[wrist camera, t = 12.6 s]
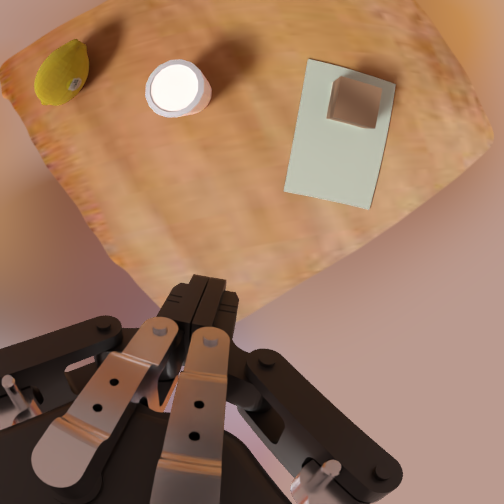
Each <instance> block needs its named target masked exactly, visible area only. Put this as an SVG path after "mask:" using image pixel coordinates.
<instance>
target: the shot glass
mask: <svg viewBox="0 0 504 504" xmlns="http://www.w3.org/2000/svg"><path fill="white" fill-rule="evenodd" d="M211 93H212V89H211V87H210V84H209V82H208V81H207V79H206V78H205V76H204V75H203V73H202V72H201V71H200V70H199V69H198V68H197V67H196V66H195V65H194V64H193V63H191V62H188V61H185V60H182V59H179V60H170V61H167V62H165V63H163V64H161V65H159V66H158V67H157V68H156V69H155V70H154V71H153V72H152V73H151V75H150V77H149V79H148V81H147V84H146V93H145V96H146V99H147V102H148V105H149V106H150V108H151V109H152V110H153V111H154V112H155V113H156V114H159V115H162V116H164V117H181V116H186V115H192V114H195V113H198V112H200V111H202V110H203V109H204V108H205V107H206V106H207V105H208V103H209V101H210V99H211Z"/></svg>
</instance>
